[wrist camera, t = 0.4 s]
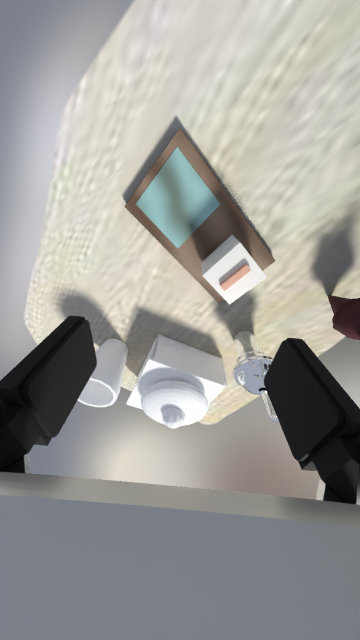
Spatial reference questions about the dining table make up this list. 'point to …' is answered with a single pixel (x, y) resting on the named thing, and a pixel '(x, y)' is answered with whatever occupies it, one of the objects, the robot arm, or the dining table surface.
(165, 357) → the butter dish
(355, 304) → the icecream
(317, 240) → the dining table surface
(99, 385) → the foam cup
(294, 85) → the dining table surface
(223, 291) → the white cube with handle
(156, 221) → the post stand
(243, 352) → the cup with straw
